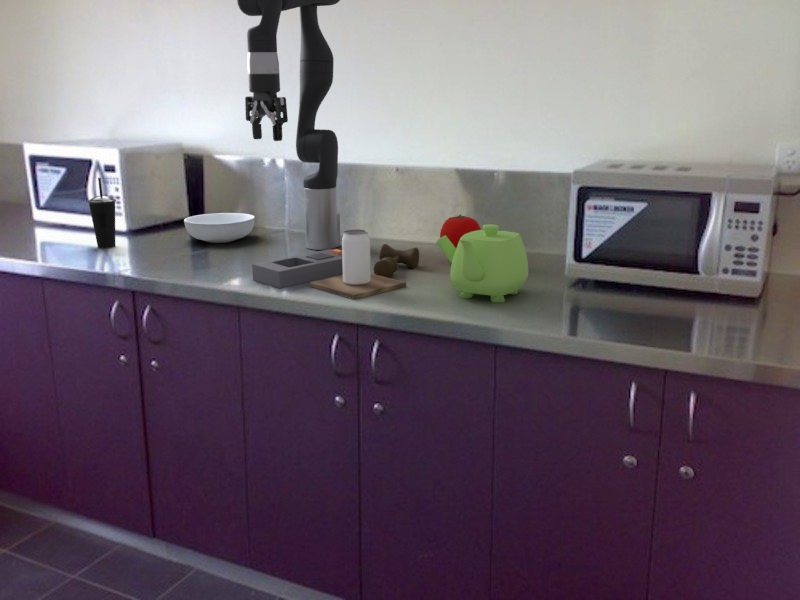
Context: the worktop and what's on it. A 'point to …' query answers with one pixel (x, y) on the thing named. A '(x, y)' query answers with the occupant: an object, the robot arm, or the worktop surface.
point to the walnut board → (358, 286)
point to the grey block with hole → (299, 268)
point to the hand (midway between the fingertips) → (267, 139)
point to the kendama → (395, 260)
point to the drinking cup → (103, 219)
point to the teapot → (487, 262)
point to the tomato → (458, 228)
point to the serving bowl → (219, 226)
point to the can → (356, 257)
